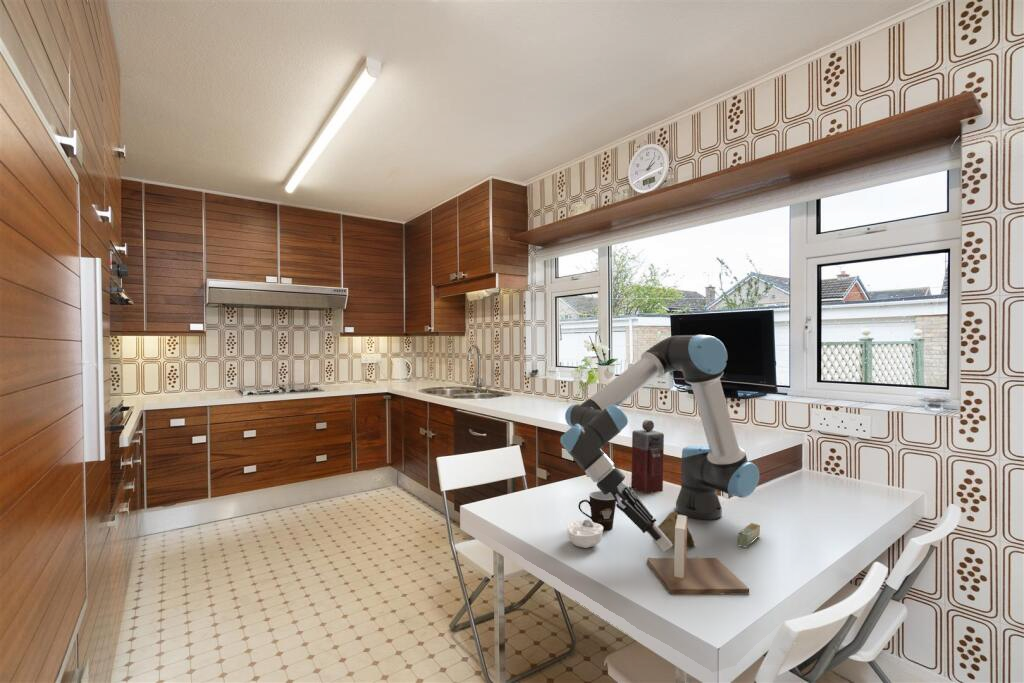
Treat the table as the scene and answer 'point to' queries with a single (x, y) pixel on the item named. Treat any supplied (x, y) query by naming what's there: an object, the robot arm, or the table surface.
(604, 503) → the coffee mug
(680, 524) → the tile
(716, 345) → the robot arm
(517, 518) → the table surface
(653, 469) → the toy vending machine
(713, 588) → the board
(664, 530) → the rock
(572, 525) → the cell model
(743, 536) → the medication box
